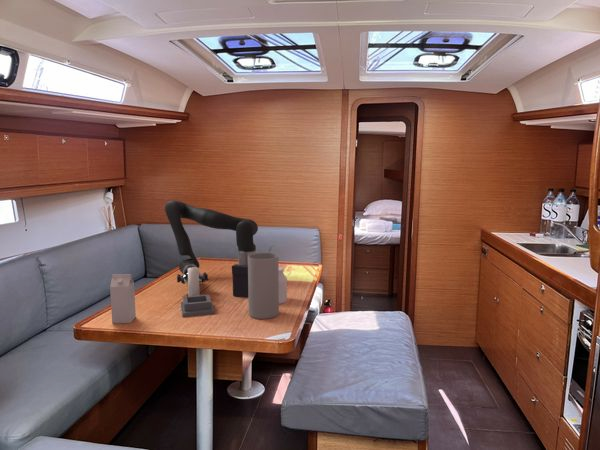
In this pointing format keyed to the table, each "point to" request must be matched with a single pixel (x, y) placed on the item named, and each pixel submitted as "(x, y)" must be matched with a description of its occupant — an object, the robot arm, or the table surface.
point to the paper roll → (193, 281)
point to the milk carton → (122, 298)
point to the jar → (282, 286)
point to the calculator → (240, 280)
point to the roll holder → (196, 305)
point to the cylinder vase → (263, 285)
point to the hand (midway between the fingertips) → (193, 281)
